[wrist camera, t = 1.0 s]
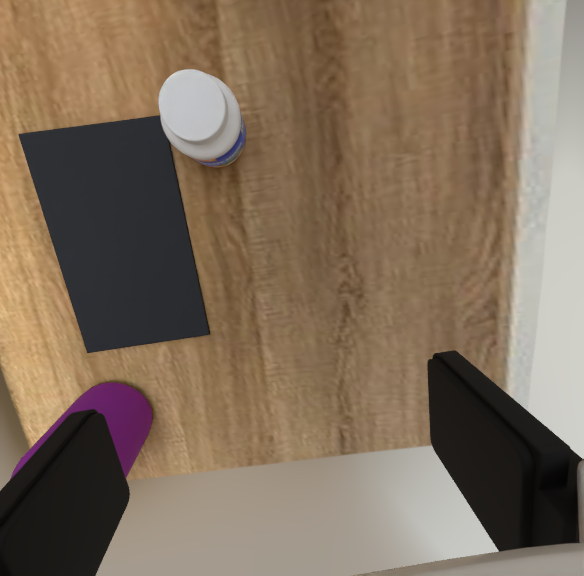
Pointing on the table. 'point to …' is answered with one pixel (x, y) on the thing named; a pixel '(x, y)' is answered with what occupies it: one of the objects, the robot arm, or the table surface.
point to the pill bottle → (202, 118)
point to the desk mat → (118, 231)
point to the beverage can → (111, 420)
